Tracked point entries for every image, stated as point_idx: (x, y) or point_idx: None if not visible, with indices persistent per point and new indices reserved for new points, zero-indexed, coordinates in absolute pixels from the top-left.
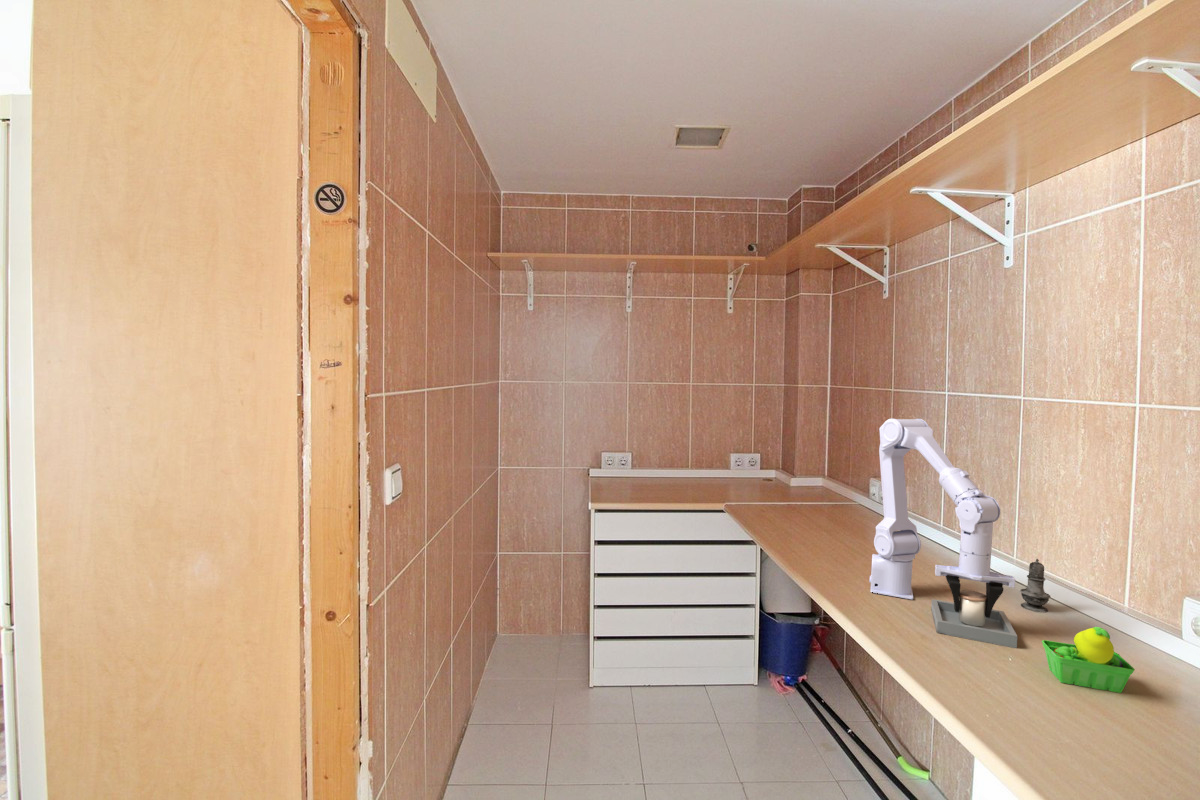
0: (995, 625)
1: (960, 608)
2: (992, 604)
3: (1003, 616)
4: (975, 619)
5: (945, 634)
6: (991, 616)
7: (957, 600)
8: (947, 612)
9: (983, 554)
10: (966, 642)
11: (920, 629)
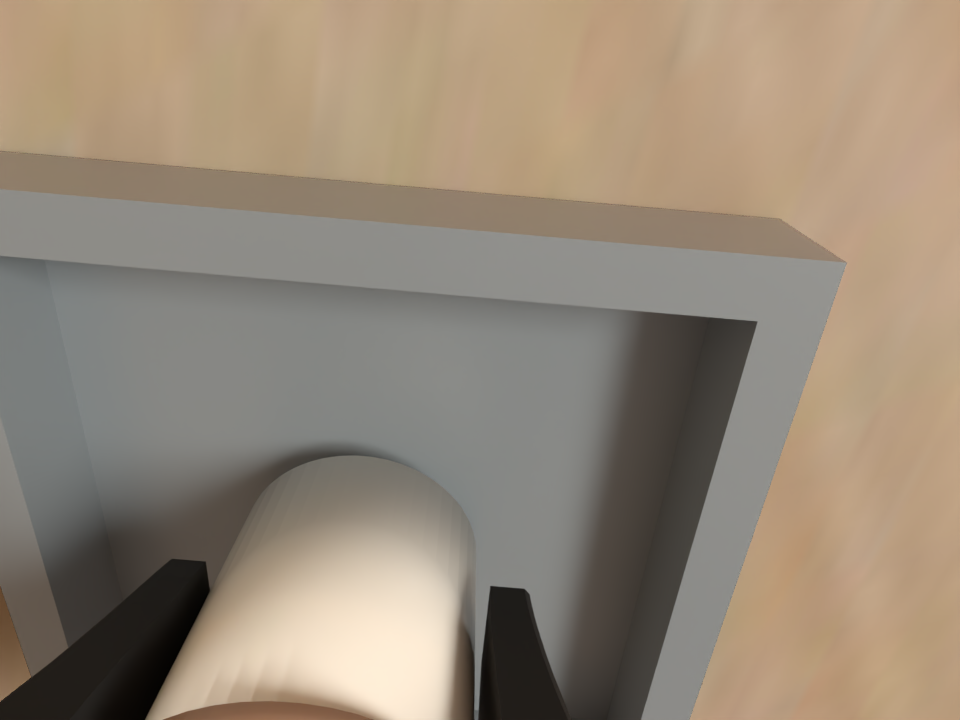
0: None
1: (470, 638)
2: (21, 700)
3: None
4: (328, 500)
5: (689, 213)
6: None
7: (527, 713)
8: None
9: None
10: (500, 68)
11: (943, 247)
